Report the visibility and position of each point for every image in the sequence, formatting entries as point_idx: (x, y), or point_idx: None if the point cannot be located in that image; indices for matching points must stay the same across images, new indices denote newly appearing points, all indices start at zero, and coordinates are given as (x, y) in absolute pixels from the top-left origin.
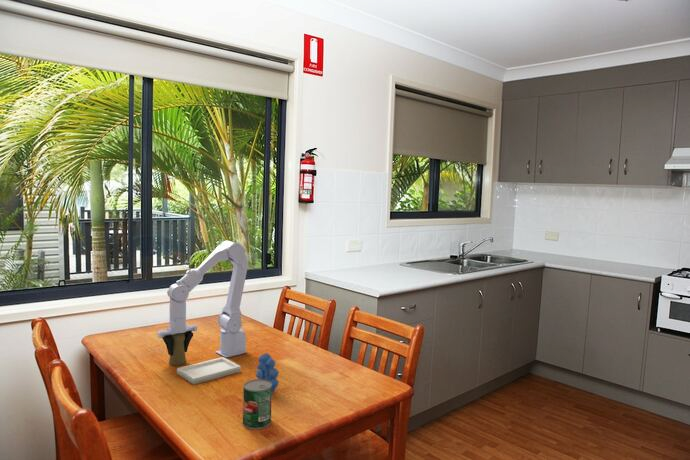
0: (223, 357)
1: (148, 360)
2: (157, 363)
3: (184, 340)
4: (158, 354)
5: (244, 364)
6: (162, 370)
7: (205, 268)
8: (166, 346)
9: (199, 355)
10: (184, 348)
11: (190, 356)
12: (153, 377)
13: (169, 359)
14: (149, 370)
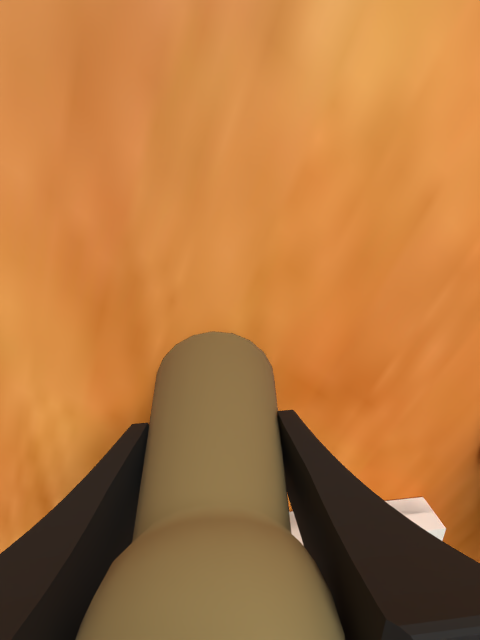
0: (441, 535)
1: (15, 210)
2: (79, 326)
3: (318, 551)
4: (140, 83)
5: (468, 553)
6: (86, 455)
7: None
8: (75, 489)
9: (406, 334)
10: (285, 465)
11: (347, 319)
12: (17, 516)
13: (154, 391)
14: (3, 420)
